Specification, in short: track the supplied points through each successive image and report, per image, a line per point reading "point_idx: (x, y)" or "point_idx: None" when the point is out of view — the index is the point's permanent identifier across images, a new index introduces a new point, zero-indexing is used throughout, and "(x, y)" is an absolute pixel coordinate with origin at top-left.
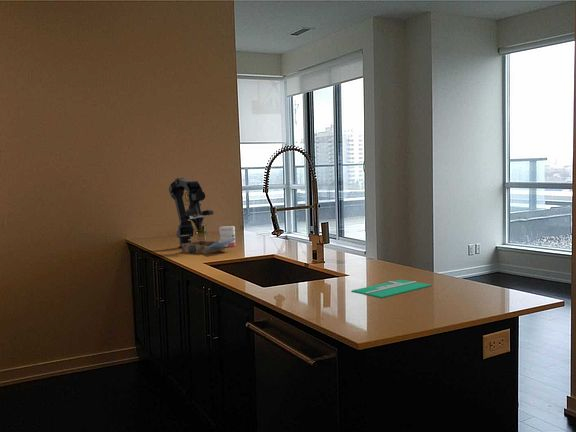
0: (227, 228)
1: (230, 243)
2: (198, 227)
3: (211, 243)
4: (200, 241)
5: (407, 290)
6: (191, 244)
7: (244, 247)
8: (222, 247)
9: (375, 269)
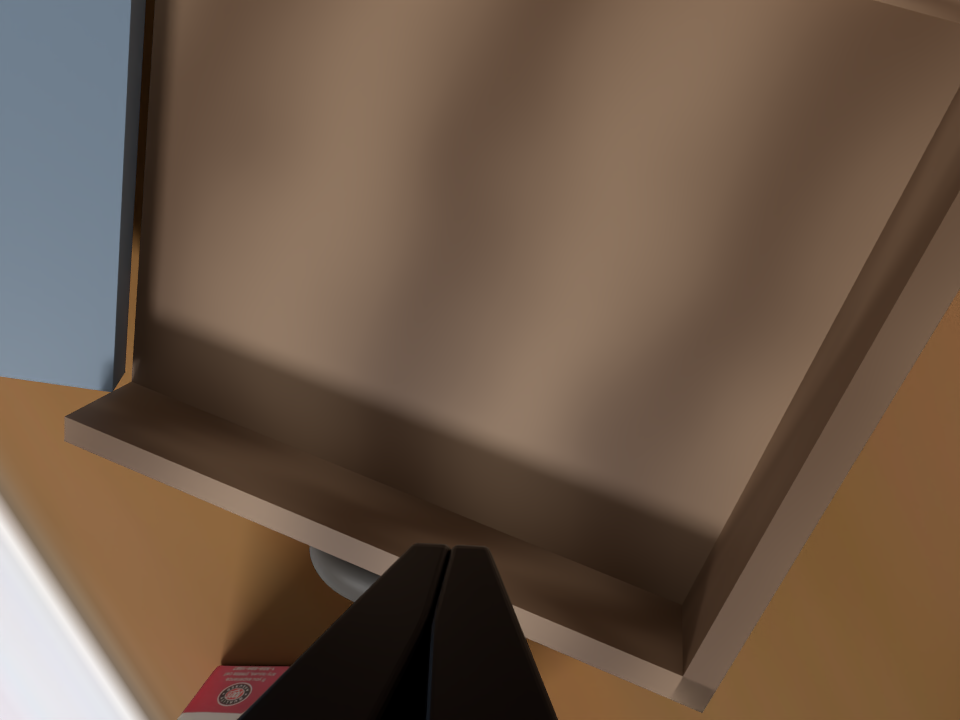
0: None
1: (230, 703)
2: (389, 618)
3: (385, 516)
4: (689, 650)
5: None
6: (831, 369)
7: (55, 590)
8: (142, 353)
9: None
